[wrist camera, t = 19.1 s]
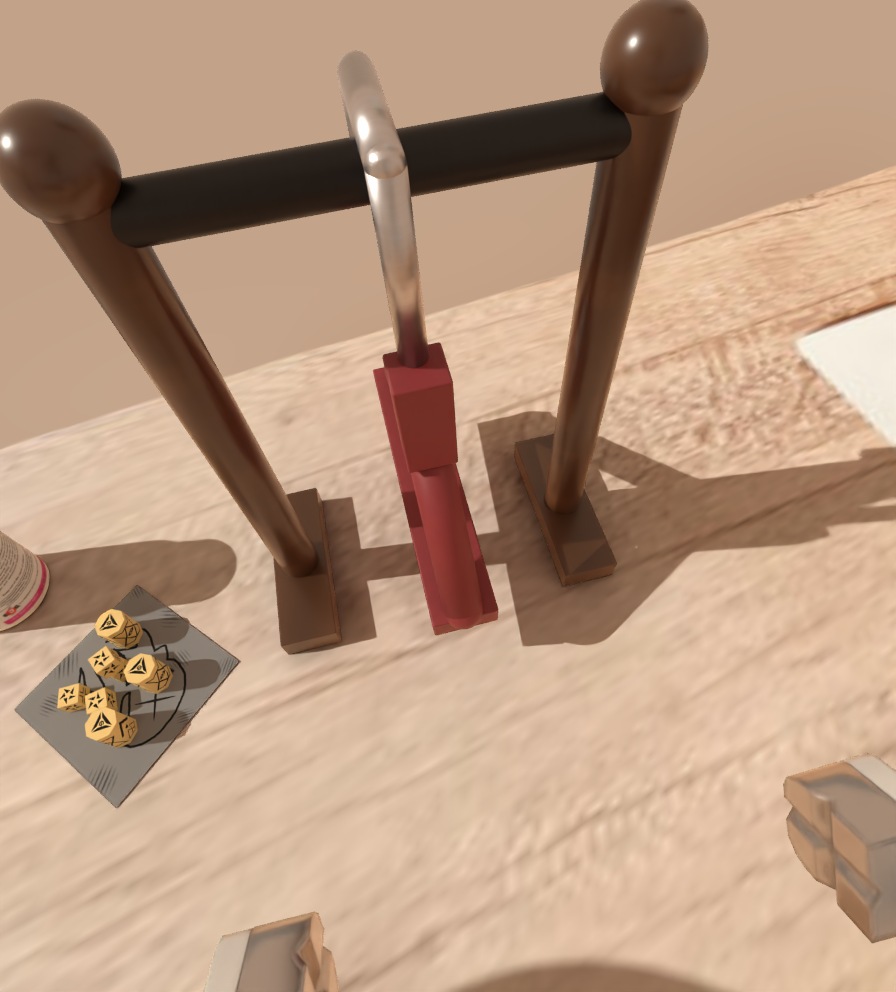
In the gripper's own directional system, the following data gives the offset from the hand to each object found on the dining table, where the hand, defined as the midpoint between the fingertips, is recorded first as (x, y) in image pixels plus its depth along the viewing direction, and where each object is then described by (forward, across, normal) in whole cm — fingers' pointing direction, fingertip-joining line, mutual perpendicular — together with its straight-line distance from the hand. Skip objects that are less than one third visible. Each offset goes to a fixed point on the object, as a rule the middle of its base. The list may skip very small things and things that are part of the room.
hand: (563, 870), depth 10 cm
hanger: (+22, 0, -2) cm, 22 cm away
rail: (+24, 0, +1) cm, 24 cm away
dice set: (+21, +17, +4) cm, 27 cm away
